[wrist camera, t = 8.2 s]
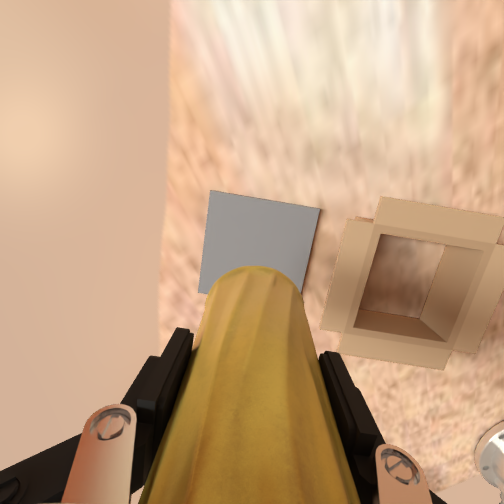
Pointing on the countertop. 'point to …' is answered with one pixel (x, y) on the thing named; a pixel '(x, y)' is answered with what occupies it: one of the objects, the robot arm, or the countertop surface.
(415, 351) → the carton
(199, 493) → the vase
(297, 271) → the mat
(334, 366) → the robot arm
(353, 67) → the countertop surface
